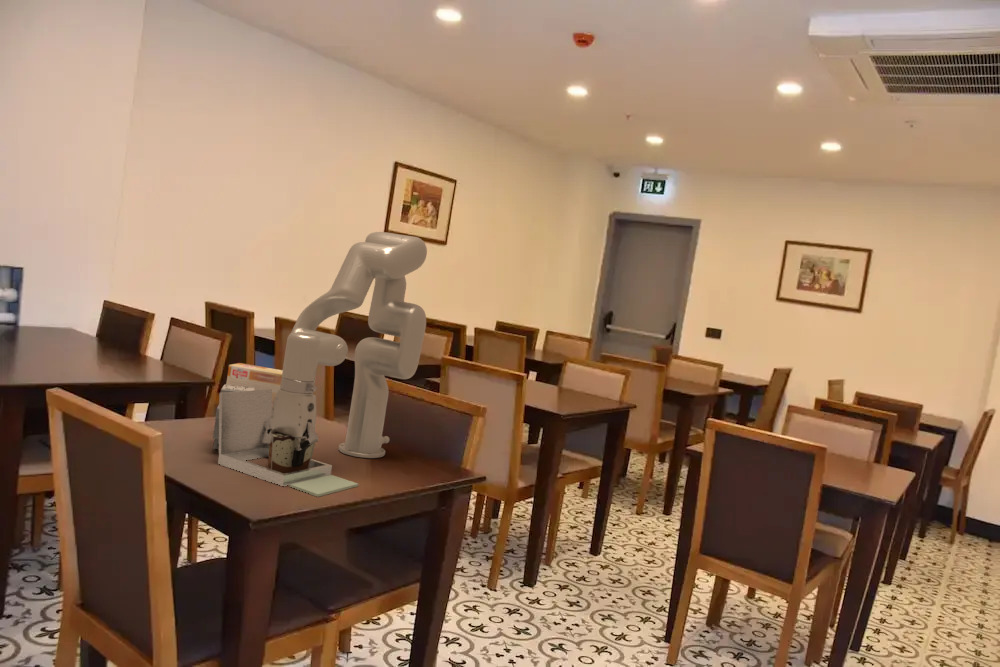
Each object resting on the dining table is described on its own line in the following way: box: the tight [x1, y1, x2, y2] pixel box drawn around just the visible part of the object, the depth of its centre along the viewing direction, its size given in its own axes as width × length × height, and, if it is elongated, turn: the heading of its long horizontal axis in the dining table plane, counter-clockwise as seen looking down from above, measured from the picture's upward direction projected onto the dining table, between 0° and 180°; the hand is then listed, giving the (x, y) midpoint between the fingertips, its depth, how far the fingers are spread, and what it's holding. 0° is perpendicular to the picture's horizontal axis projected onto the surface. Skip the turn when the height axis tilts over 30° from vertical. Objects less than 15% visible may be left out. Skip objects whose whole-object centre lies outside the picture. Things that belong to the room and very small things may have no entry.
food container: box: [267, 429, 319, 474], centre depth 174 cm, size 12×6×10 cm, turn 135°
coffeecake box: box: [225, 362, 283, 408], centre depth 199 cm, size 15×7×20 cm, turn 84°
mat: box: [289, 474, 359, 498], centre depth 169 cm, size 14×8×1 cm, turn 153°
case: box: [217, 389, 333, 487], centre depth 176 cm, size 16×23×16 cm
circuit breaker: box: [212, 383, 255, 451], centre depth 186 cm, size 8×14×15 cm, turn 15°
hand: (285, 461), depth 174 cm, fingers closed on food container, 6 cm apart
